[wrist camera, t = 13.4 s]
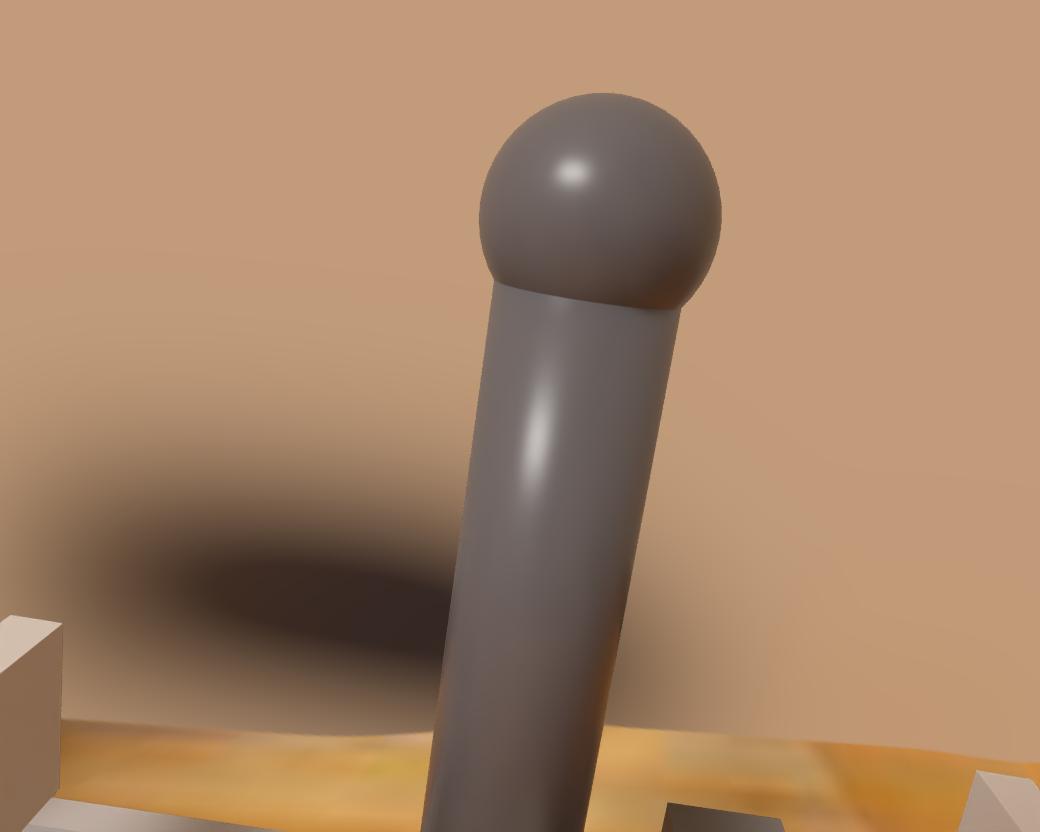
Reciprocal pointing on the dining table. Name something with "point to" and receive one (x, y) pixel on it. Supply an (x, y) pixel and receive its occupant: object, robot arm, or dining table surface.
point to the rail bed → (100, 828)
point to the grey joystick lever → (562, 449)
